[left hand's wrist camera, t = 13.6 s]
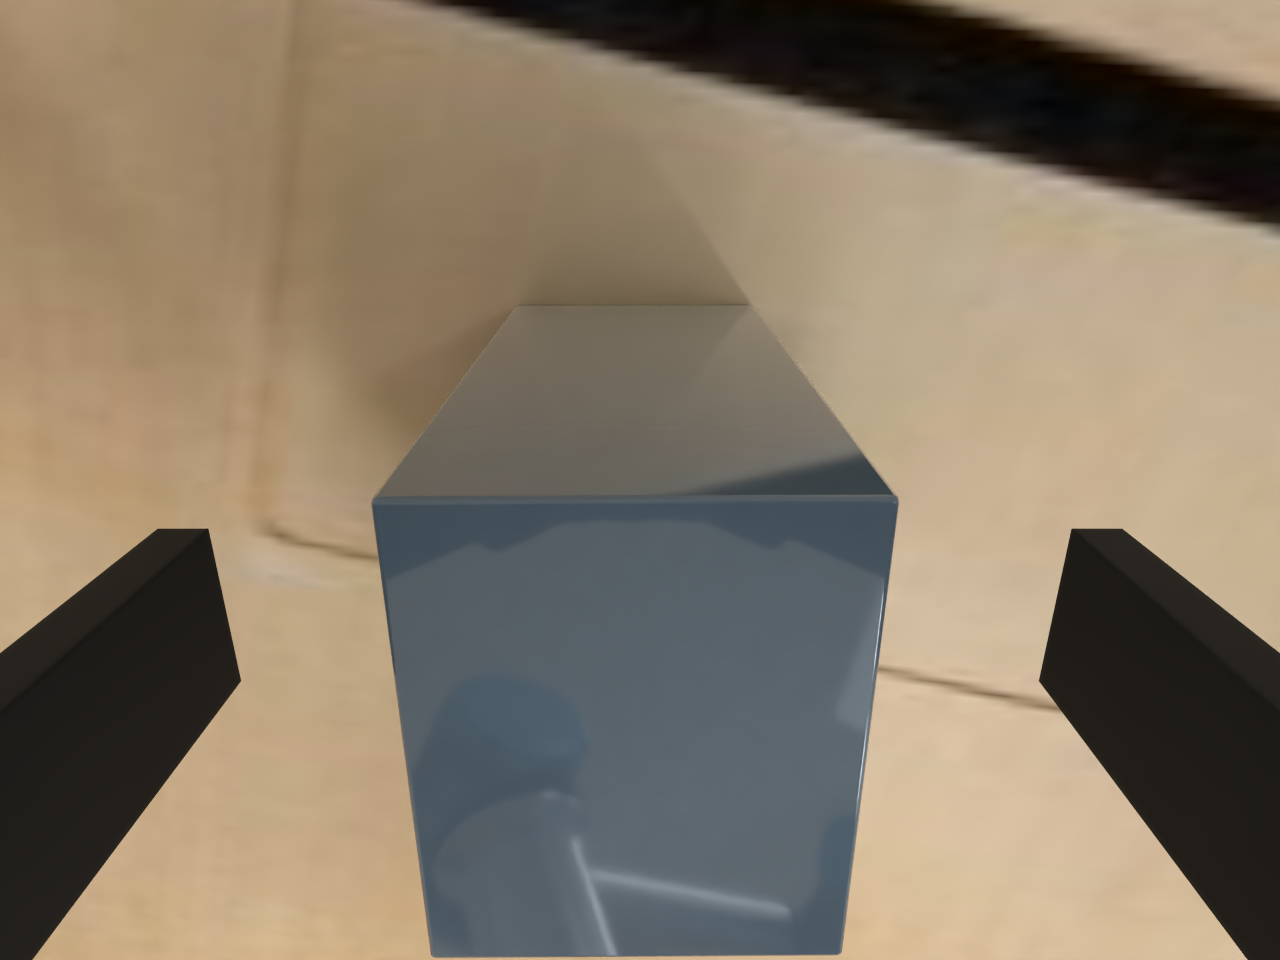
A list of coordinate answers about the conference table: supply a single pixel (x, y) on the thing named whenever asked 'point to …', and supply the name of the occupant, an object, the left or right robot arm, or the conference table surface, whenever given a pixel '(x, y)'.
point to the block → (635, 640)
